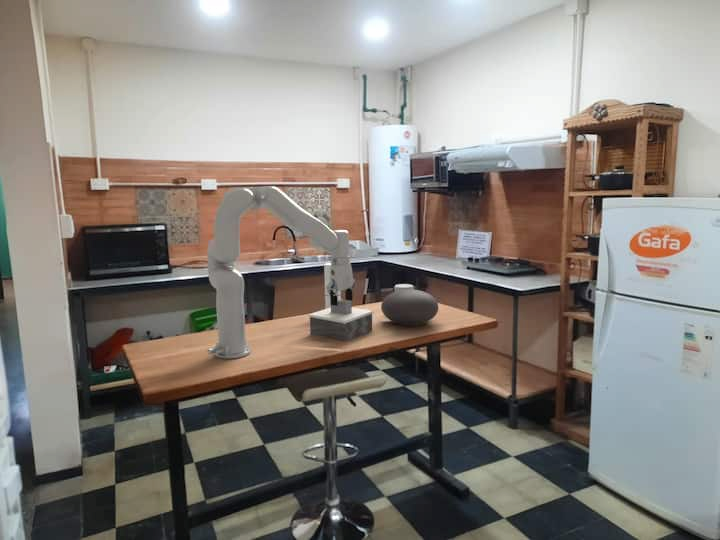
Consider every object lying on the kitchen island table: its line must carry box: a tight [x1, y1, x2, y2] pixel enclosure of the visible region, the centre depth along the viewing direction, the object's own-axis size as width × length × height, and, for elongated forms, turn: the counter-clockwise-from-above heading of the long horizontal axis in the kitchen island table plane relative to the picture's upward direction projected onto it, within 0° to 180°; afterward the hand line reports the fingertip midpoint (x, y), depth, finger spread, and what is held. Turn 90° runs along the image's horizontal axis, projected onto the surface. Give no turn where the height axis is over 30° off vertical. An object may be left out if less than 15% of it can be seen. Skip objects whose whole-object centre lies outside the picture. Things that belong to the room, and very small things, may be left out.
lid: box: [308, 298, 374, 323], centre depth 198 cm, size 19×19×7 cm
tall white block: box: [323, 262, 342, 309], centre depth 225 cm, size 7×7×25 cm
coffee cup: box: [393, 283, 415, 292], centre depth 238 cm, size 9×9×12 cm
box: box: [309, 314, 373, 342], centre depth 199 cm, size 18×18×8 cm
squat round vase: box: [380, 288, 439, 326], centre depth 213 cm, size 25×25×15 cm
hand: (341, 302), depth 198 cm, fingers open, 9 cm apart
